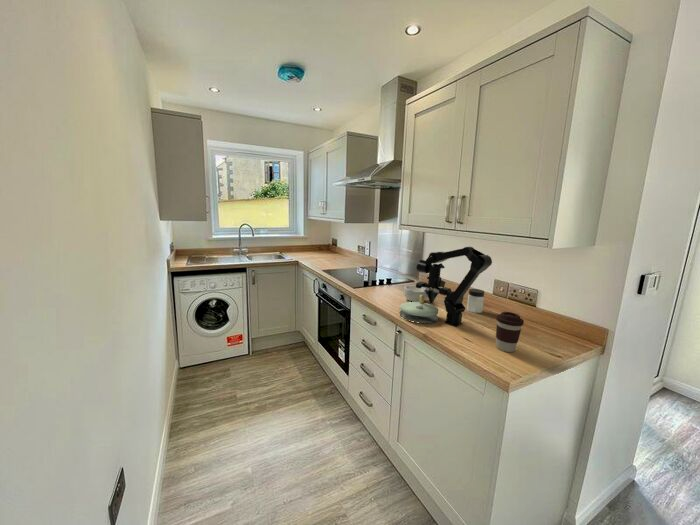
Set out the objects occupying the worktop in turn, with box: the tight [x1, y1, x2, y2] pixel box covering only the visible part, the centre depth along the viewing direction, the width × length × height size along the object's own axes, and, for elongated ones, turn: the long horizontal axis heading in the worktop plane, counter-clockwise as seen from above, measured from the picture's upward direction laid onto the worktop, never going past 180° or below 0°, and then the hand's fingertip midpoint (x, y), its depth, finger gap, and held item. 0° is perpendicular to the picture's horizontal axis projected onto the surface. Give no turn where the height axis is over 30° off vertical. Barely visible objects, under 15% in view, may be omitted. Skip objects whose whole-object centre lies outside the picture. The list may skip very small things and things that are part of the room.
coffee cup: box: [495, 311, 525, 353], centre depth 121 cm, size 10×10×15 cm
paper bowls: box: [403, 284, 429, 302], centre depth 183 cm, size 15×15×8 cm
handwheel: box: [399, 295, 439, 317], centre depth 153 cm, size 20×20×6 cm
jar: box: [466, 288, 485, 314], centre depth 168 cm, size 9×8×12 cm
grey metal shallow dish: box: [398, 309, 439, 324], centre depth 154 cm, size 20×20×4 cm
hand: (431, 303), depth 157 cm, fingers closed
